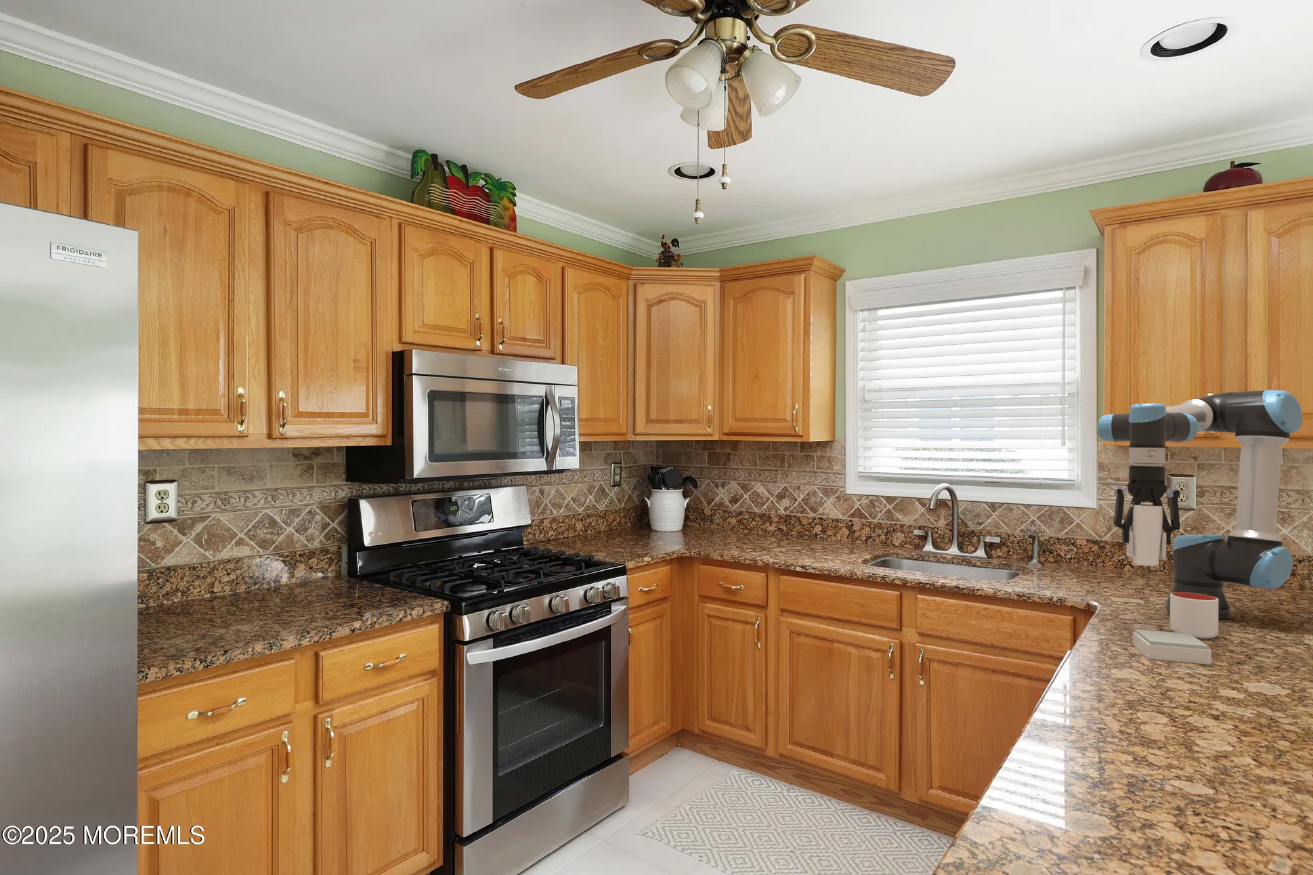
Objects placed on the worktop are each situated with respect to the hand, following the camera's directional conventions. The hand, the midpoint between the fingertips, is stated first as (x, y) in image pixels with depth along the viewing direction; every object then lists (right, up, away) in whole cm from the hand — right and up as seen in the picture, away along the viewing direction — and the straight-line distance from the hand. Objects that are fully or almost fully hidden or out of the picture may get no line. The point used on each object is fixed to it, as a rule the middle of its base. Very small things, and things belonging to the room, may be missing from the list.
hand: (1145, 556), depth 179 cm
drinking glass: (0, -2, 0) cm, 2 cm away
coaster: (-2, -21, -11) cm, 24 cm away
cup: (+17, -22, +7) cm, 28 cm away
